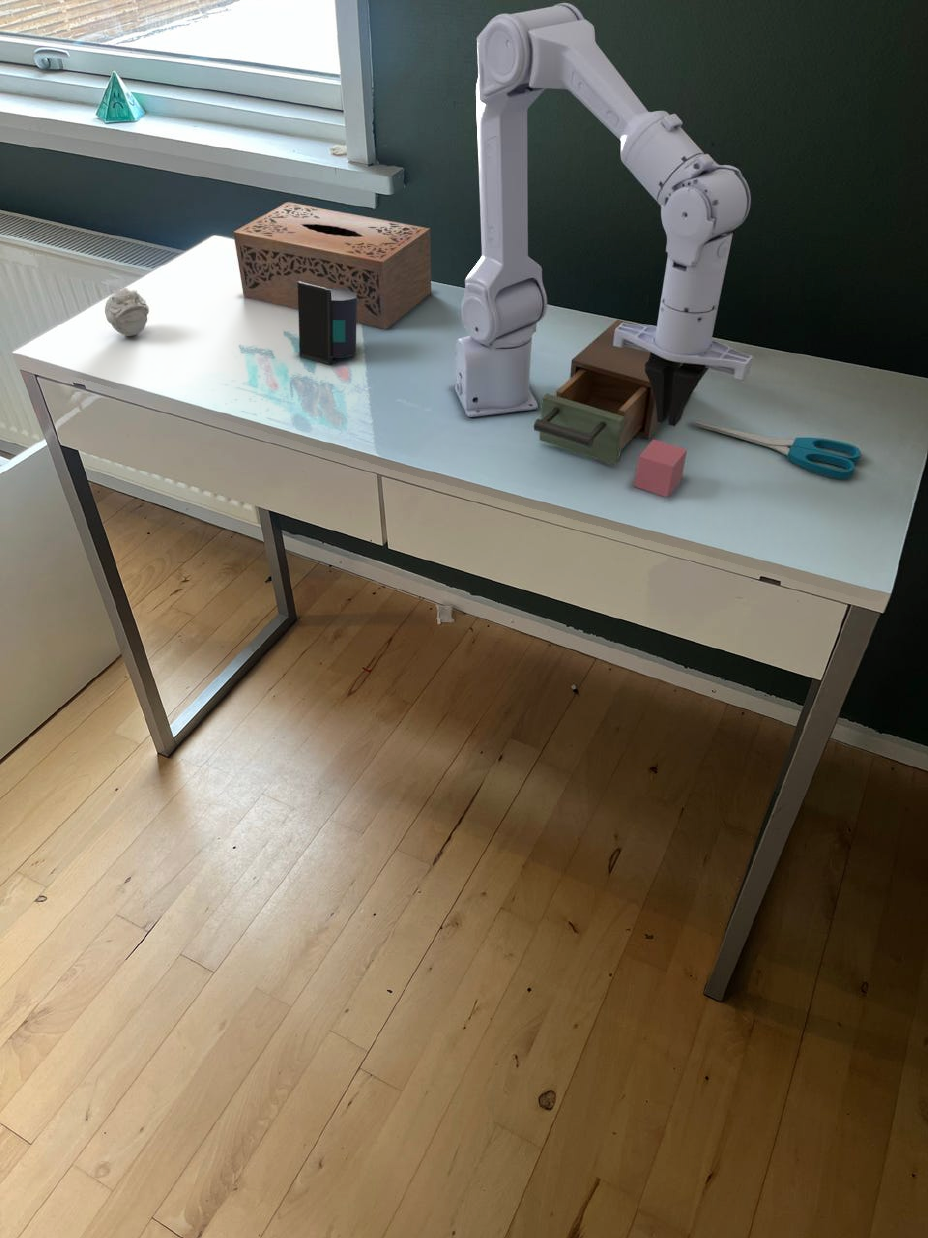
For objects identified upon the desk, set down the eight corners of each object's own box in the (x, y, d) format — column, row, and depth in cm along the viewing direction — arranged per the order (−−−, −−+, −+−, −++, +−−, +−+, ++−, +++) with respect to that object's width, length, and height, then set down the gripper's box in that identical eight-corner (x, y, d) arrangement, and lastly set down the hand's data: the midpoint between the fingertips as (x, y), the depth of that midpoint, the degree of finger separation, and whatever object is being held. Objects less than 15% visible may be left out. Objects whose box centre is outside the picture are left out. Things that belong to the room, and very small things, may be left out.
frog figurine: (123, 349, 132) (110, 302, 127) (103, 332, 136) (90, 285, 131) (162, 337, 134) (151, 290, 130) (142, 320, 138) (130, 274, 134)
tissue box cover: (431, 292, 146) (429, 228, 139) (386, 329, 136) (382, 262, 130) (295, 263, 154) (287, 201, 147) (243, 296, 145) (233, 231, 138)
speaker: (321, 369, 127) (317, 293, 120) (299, 356, 130) (294, 282, 124) (366, 358, 131) (365, 284, 125) (343, 345, 134) (341, 273, 128)
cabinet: (648, 439, 114) (657, 383, 109) (566, 414, 119) (571, 359, 114) (688, 393, 123) (698, 340, 118) (610, 371, 127) (617, 319, 122)
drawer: (596, 485, 106) (602, 440, 102) (519, 459, 110) (521, 415, 106) (656, 418, 116) (663, 376, 112) (584, 397, 120) (588, 355, 116)
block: (667, 497, 105) (673, 466, 102) (633, 486, 107) (638, 455, 104) (681, 480, 108) (687, 449, 105) (648, 469, 109) (653, 438, 107)
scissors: (851, 474, 107) (685, 432, 114) (849, 481, 107) (684, 438, 115) (863, 447, 111) (703, 407, 118) (861, 454, 112) (701, 414, 119)
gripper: (773, 303, 92) (744, 422, 101) (639, 271, 98) (624, 387, 107) (749, 329, 88) (721, 451, 97) (611, 295, 93) (597, 413, 103)
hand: (668, 420), depth 102 cm, fingers closed
